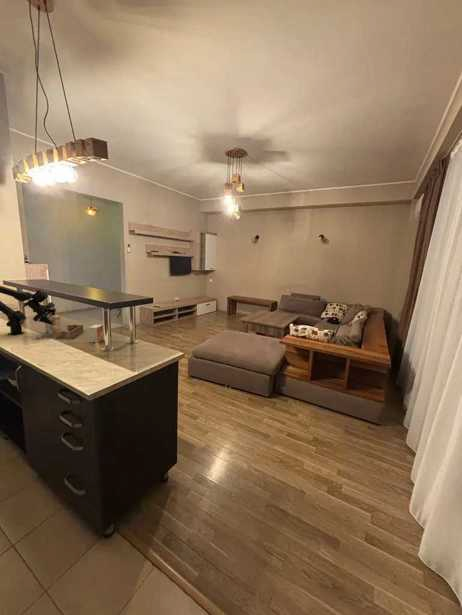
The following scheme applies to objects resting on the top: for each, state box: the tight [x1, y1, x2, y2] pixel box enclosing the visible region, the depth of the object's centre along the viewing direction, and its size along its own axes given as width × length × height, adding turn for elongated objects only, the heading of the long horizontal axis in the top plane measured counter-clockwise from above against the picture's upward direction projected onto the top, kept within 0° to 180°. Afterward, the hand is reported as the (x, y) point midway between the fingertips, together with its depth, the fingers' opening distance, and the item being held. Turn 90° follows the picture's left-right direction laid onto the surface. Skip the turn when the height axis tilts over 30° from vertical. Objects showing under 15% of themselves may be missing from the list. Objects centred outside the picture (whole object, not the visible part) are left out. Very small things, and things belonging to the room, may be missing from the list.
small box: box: [88, 324, 104, 344], centre depth 166 cm, size 8×6×10 cm
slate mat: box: [41, 332, 56, 338], centre depth 173 cm, size 11×12×1 cm
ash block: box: [47, 314, 62, 335], centre depth 172 cm, size 5×5×13 cm
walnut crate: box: [55, 324, 84, 340], centre depth 174 cm, size 10×17×5 cm, turn 9°
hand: (55, 323), depth 172 cm, fingers open, 7 cm apart
